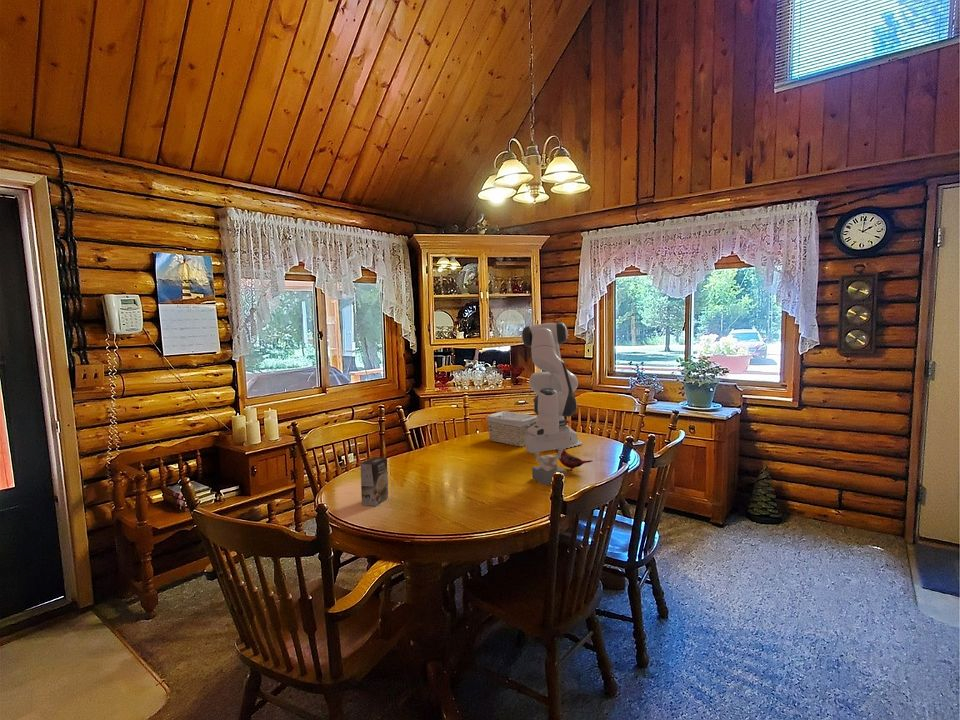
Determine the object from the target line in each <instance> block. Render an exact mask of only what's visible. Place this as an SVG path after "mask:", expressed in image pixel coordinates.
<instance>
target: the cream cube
mask: <svg viewBox="0 0 960 720" xmlns="http://www.w3.org/2000/svg"><path fill="white" fill-rule="evenodd" d="M539 457H541V458H542V461H541V462H539V463H540V465H539V466H540V468H542V469H544V470H546V471H551V470H556V469H557V466H558V459H557V457H556V456H554V455H552V454H546V455H541V456H540V455H539Z"/></svg>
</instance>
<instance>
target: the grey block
mask: <svg viewBox="0 0 960 720" xmlns="http://www.w3.org/2000/svg"><path fill="white" fill-rule="evenodd" d="M564 469H565V468H562V467H560V466H558V465H557V469H556V470H551V471H546V470H544V469H542V468H540V465H538V466H537V465H536V466H534V467H533V466H532V467H531V470H532V471H531V472H532V473H531V474H532V475H531V476H532V478H533V479H532V480H534V479H535V480H534V481H536V482H537V481H538V483H539V482H540V483H539V484H542V485H543V486H545V485H547V486H550V485H551V482H552V477H553V475H554V473H556V472H560V473H563V474H564V476H565V477H566V470H564Z"/></svg>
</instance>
